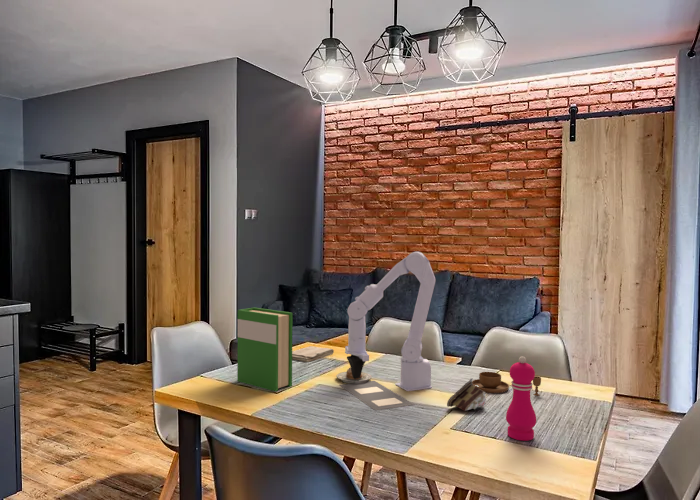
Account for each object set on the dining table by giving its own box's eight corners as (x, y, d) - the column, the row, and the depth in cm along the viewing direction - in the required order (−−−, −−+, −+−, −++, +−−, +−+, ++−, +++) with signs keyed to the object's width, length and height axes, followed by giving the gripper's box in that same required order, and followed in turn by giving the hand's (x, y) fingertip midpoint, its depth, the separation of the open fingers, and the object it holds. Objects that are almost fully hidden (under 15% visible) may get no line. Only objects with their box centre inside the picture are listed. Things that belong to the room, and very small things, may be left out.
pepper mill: (501, 430, 134) (502, 353, 133) (528, 430, 134) (530, 352, 133) (512, 442, 126) (514, 360, 126) (541, 441, 127) (543, 359, 126)
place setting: (493, 380, 181) (493, 363, 181) (544, 395, 165) (544, 377, 164) (458, 388, 171) (458, 371, 171) (508, 406, 155) (508, 386, 154)
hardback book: (291, 386, 169) (292, 312, 168) (275, 392, 163) (276, 315, 162) (253, 376, 179) (254, 307, 178) (237, 381, 173) (237, 309, 172)
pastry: (331, 382, 174) (331, 368, 173) (342, 373, 185) (342, 360, 185) (366, 385, 170) (366, 371, 170) (375, 376, 182) (375, 362, 182)
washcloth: (284, 359, 205) (284, 352, 205) (310, 350, 221) (310, 343, 221) (308, 364, 199) (309, 356, 199) (334, 354, 215) (334, 347, 215)
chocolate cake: (465, 415, 143) (490, 382, 147) (445, 402, 148) (469, 371, 152) (471, 431, 149) (495, 399, 153) (452, 418, 154) (475, 387, 158)
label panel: (374, 381, 176) (374, 380, 176) (414, 405, 153) (414, 404, 153) (338, 385, 171) (338, 384, 171) (374, 411, 147) (374, 410, 147)
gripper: (337, 334, 178) (336, 373, 179) (355, 342, 165) (354, 385, 166) (356, 332, 181) (355, 371, 182) (375, 341, 168) (374, 382, 169)
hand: (356, 377), depth 174 cm, fingers closed
